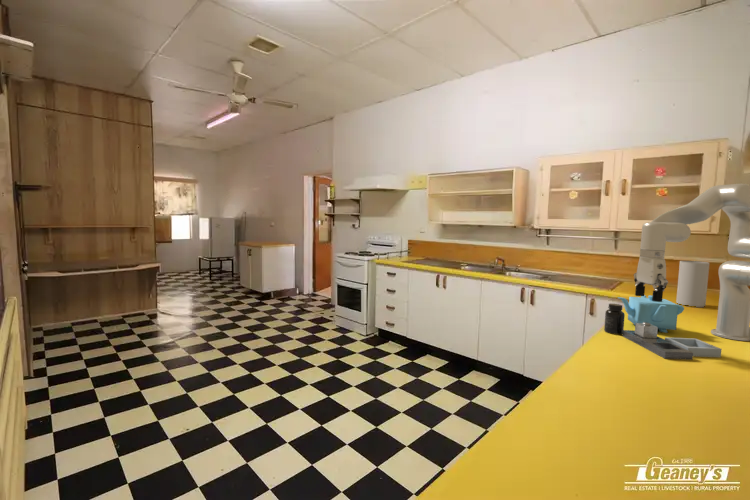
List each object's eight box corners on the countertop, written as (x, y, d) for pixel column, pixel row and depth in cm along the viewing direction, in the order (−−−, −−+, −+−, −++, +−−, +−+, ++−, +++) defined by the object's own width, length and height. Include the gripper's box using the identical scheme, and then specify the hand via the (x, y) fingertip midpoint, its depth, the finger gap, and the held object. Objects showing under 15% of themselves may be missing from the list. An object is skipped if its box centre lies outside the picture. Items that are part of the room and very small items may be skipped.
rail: (622, 336, 146) (622, 330, 146) (644, 336, 145) (645, 330, 145) (664, 358, 122) (665, 351, 122) (692, 359, 122) (693, 352, 121)
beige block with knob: (647, 340, 141) (648, 321, 140) (656, 344, 136) (657, 325, 135) (634, 340, 142) (635, 320, 141) (642, 344, 137) (644, 324, 136)
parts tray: (695, 346, 135) (695, 338, 135) (720, 357, 124) (721, 349, 124) (664, 345, 136) (665, 337, 136) (687, 355, 125) (688, 347, 125)
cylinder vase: (671, 303, 206) (675, 261, 204) (682, 301, 211) (686, 260, 209) (699, 308, 195) (703, 263, 193) (709, 306, 200) (713, 262, 198)
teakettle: (685, 331, 153) (688, 298, 152) (662, 337, 145) (665, 302, 144) (637, 320, 170) (639, 290, 169) (614, 325, 162) (616, 293, 160)
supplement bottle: (626, 335, 147) (628, 307, 146) (608, 334, 148) (610, 306, 147) (618, 330, 154) (620, 303, 153) (601, 329, 155) (603, 302, 154)
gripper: (679, 257, 127) (675, 304, 128) (646, 252, 144) (643, 294, 146) (657, 256, 128) (653, 303, 129) (627, 252, 145) (624, 293, 146)
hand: (648, 298), depth 137 cm, fingers open, 9 cm apart
